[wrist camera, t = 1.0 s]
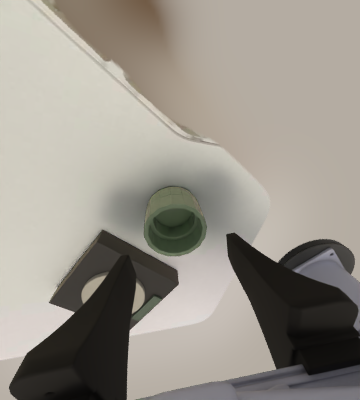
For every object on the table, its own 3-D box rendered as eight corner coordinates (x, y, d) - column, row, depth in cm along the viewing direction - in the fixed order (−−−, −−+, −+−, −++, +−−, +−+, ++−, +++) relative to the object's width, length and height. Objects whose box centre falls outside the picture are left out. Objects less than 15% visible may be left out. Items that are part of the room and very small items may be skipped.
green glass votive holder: (207, 209, 21) (218, 232, 17) (170, 237, 22) (172, 265, 18) (175, 174, 19) (179, 191, 15) (136, 207, 20) (130, 231, 16)
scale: (177, 270, 25) (179, 288, 22) (130, 316, 28) (127, 336, 25) (102, 229, 21) (94, 245, 18) (57, 287, 24) (45, 307, 21)
